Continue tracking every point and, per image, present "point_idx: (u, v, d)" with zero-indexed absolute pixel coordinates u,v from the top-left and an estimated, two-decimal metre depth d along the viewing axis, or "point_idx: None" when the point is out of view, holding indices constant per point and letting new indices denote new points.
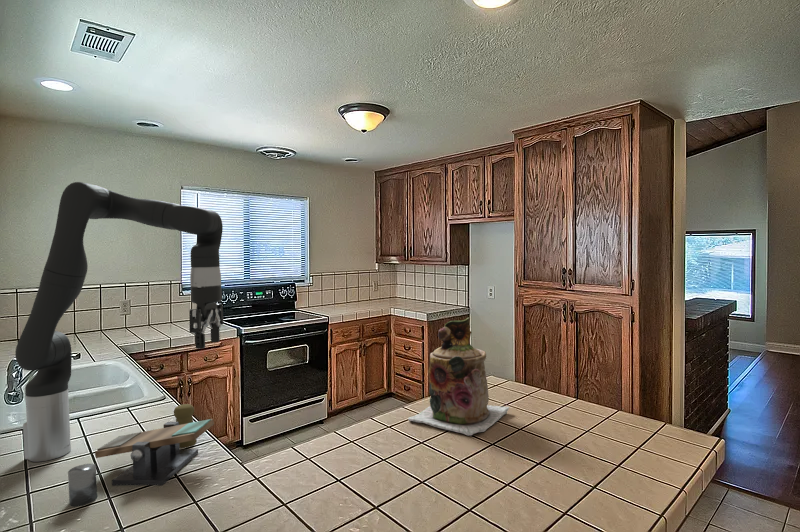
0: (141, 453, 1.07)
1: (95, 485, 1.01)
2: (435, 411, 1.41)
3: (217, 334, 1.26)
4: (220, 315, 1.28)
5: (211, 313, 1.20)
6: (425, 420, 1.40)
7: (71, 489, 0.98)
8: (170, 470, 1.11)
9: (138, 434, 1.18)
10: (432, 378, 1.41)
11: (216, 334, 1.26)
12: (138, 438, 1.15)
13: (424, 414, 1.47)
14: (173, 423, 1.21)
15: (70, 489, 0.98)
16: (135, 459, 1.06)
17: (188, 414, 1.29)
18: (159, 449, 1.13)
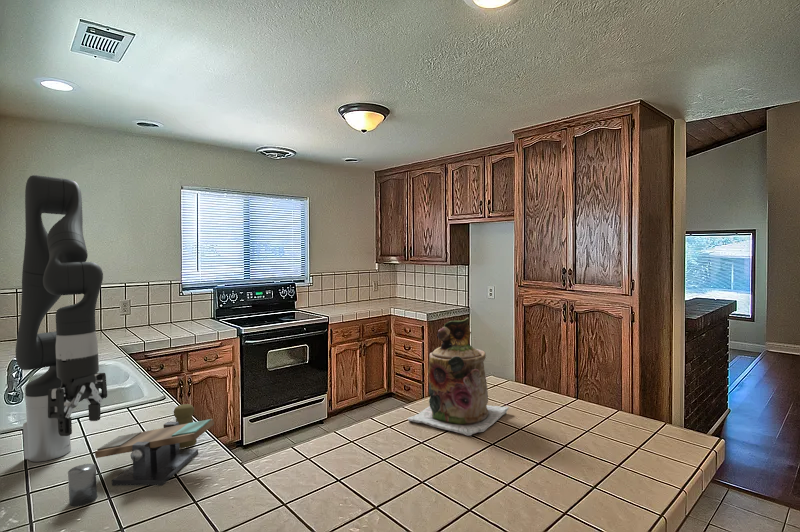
0: (141, 453, 1.07)
1: (95, 485, 1.01)
2: (434, 411, 1.41)
3: (96, 411, 1.04)
4: (102, 387, 1.06)
5: (82, 390, 0.98)
6: (424, 420, 1.40)
7: (71, 489, 0.98)
8: (170, 470, 1.11)
9: (138, 434, 1.18)
10: (431, 378, 1.41)
11: (95, 411, 1.04)
12: (138, 438, 1.15)
13: (423, 414, 1.47)
14: (173, 423, 1.21)
15: (70, 489, 0.98)
16: (135, 459, 1.06)
17: (188, 415, 1.29)
18: (159, 449, 1.13)
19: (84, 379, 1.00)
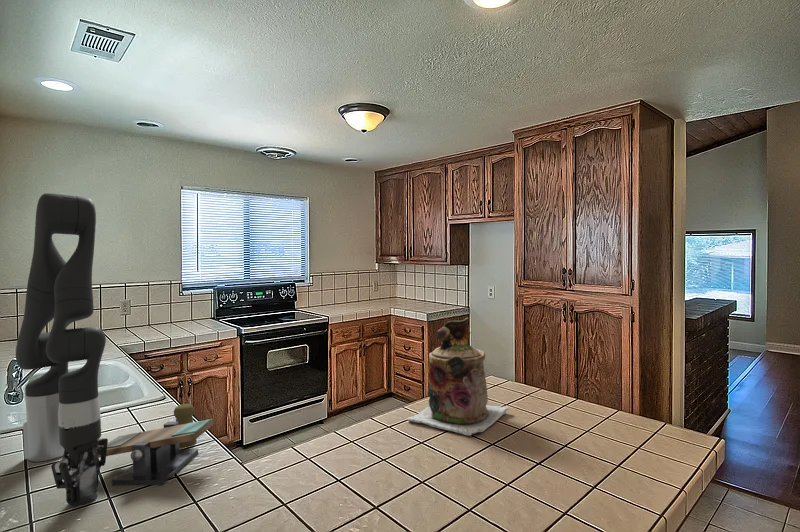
0: (141, 453, 1.07)
1: (95, 485, 1.01)
2: (434, 411, 1.41)
3: None
4: (102, 453, 1.05)
5: (85, 457, 0.99)
6: (424, 420, 1.40)
7: None
8: (170, 470, 1.11)
9: (138, 434, 1.18)
10: (431, 378, 1.41)
11: None
12: (138, 438, 1.15)
13: (423, 414, 1.47)
14: (173, 423, 1.21)
15: None
16: (135, 459, 1.06)
17: (188, 415, 1.29)
18: (159, 449, 1.13)
19: (86, 444, 1.00)
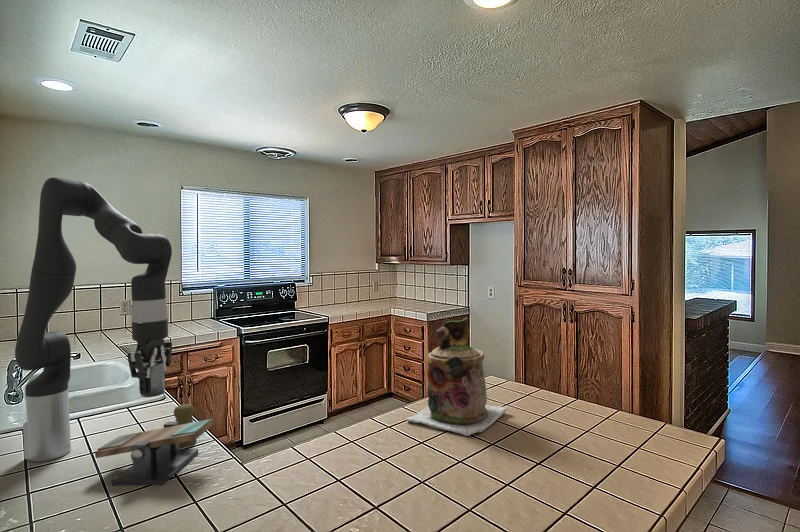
0: (141, 453, 1.07)
1: (163, 380, 1.09)
2: (433, 411, 1.41)
3: None
4: (167, 355, 1.13)
5: (155, 352, 1.07)
6: (423, 420, 1.40)
7: None
8: (170, 470, 1.11)
9: (138, 434, 1.18)
10: (430, 378, 1.41)
11: None
12: (138, 438, 1.15)
13: (422, 414, 1.47)
14: (173, 423, 1.21)
15: None
16: (135, 459, 1.06)
17: (188, 414, 1.29)
18: (159, 449, 1.13)
19: (156, 342, 1.08)
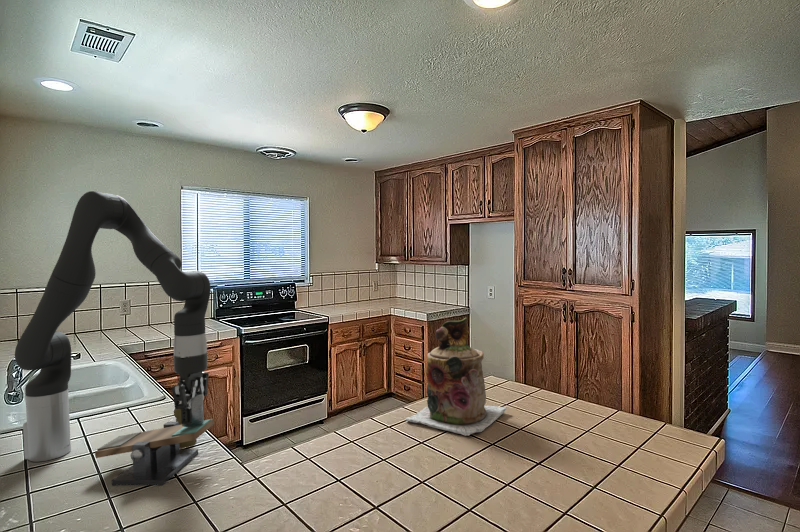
0: (141, 453, 1.07)
1: (202, 410, 1.15)
2: (432, 411, 1.41)
3: None
4: (204, 385, 1.19)
5: (196, 384, 1.13)
6: (422, 420, 1.40)
7: None
8: (170, 470, 1.11)
9: (138, 434, 1.18)
10: (429, 378, 1.41)
11: None
12: (138, 438, 1.15)
13: (421, 414, 1.47)
14: (173, 423, 1.21)
15: None
16: (135, 459, 1.06)
17: None
18: (159, 449, 1.13)
19: (196, 374, 1.14)
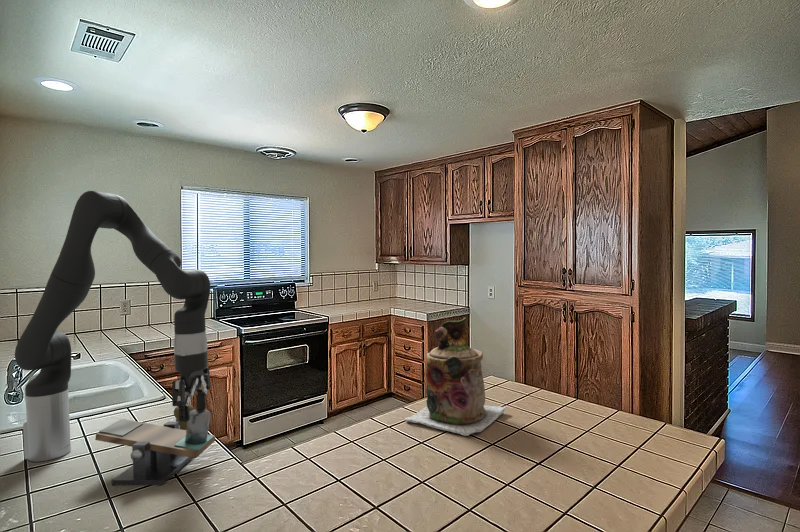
0: (141, 453, 1.07)
1: None
2: (432, 411, 1.41)
3: (203, 401, 1.18)
4: (207, 380, 1.20)
5: (196, 382, 1.12)
6: (422, 420, 1.40)
7: (190, 429, 1.12)
8: (170, 470, 1.11)
9: (140, 425, 1.18)
10: (428, 378, 1.41)
11: (202, 401, 1.18)
12: (140, 432, 1.15)
13: (421, 414, 1.47)
14: (173, 423, 1.21)
15: (189, 429, 1.12)
16: (135, 459, 1.06)
17: None
18: None
19: (196, 372, 1.14)
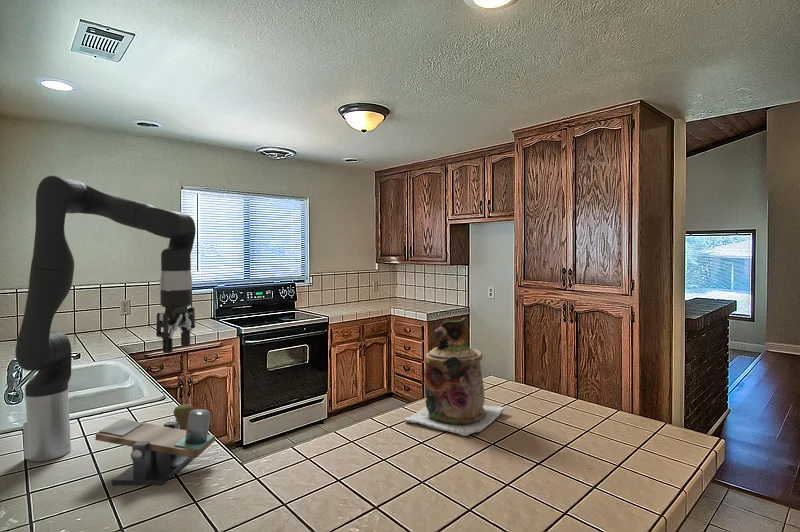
0: (141, 453, 1.07)
1: None
2: (431, 411, 1.41)
3: (187, 338, 1.25)
4: (191, 319, 1.27)
5: (180, 317, 1.19)
6: (421, 420, 1.40)
7: (190, 429, 1.12)
8: (170, 470, 1.11)
9: (140, 425, 1.18)
10: (428, 378, 1.41)
11: (186, 338, 1.25)
12: (140, 432, 1.15)
13: (420, 414, 1.47)
14: (173, 423, 1.21)
15: (189, 429, 1.12)
16: (135, 459, 1.06)
17: (188, 414, 1.29)
18: None
19: (181, 309, 1.21)
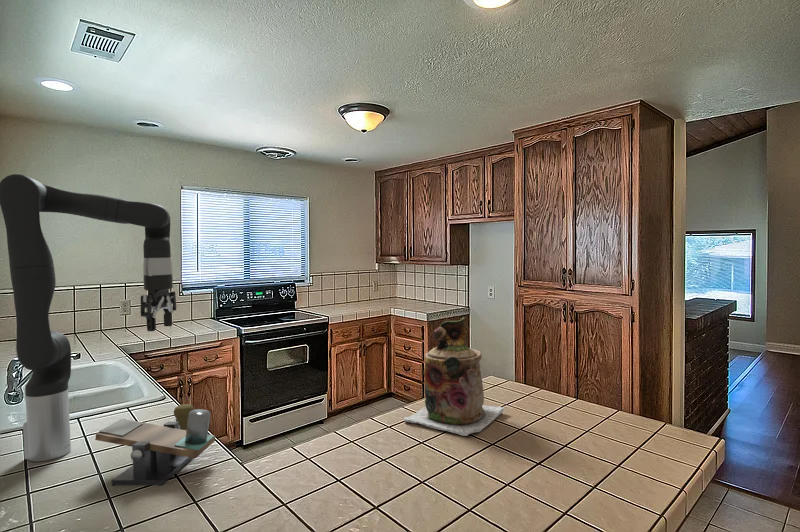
0: (141, 453, 1.07)
1: None
2: (430, 411, 1.41)
3: (169, 319, 1.39)
4: (173, 302, 1.40)
5: (162, 299, 1.33)
6: (420, 421, 1.40)
7: (190, 429, 1.12)
8: (170, 470, 1.11)
9: (140, 425, 1.18)
10: (427, 378, 1.41)
11: (169, 319, 1.39)
12: (140, 432, 1.15)
13: (419, 415, 1.47)
14: (173, 423, 1.21)
15: (189, 429, 1.12)
16: (135, 459, 1.06)
17: (188, 414, 1.29)
18: None
19: (163, 292, 1.35)
